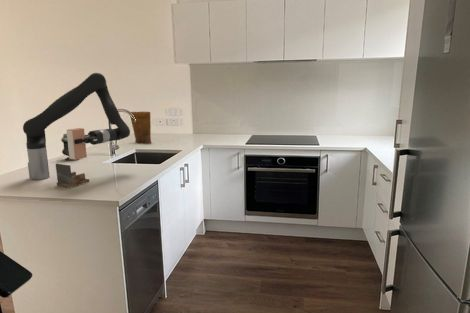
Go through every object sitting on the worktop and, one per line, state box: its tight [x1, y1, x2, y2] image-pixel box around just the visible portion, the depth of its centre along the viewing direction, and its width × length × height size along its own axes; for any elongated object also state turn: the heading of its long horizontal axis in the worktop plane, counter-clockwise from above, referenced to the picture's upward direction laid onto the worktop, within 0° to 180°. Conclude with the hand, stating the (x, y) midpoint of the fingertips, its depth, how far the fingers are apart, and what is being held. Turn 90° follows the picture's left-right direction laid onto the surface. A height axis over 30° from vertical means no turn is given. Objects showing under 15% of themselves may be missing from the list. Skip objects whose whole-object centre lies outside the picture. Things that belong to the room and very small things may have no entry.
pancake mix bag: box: [129, 111, 152, 145], centre depth 294 cm, size 7×19×28 cm, turn 72°
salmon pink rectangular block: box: [66, 127, 88, 161], centre depth 171 cm, size 7×4×15 cm, turn 154°
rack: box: [55, 163, 90, 189], centre depth 178 cm, size 12×10×12 cm
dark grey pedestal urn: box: [60, 132, 80, 162], centre depth 234 cm, size 12×12×18 cm
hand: (71, 141), depth 169 cm, fingers closed on salmon pink rectangular block, 4 cm apart
